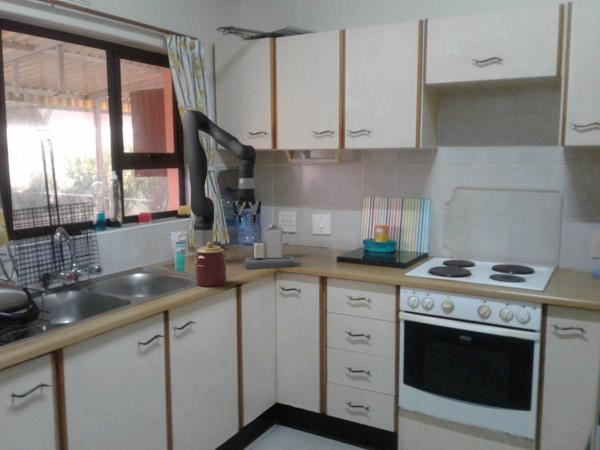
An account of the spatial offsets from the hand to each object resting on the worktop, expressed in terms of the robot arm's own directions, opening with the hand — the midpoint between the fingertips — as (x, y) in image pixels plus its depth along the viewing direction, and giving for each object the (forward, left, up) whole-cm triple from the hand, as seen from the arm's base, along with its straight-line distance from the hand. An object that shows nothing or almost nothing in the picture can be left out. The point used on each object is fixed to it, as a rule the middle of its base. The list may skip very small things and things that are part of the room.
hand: (247, 222), depth 250 cm
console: (+11, 0, -22) cm, 24 cm away
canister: (-18, -31, -22) cm, 42 cm away
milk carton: (+17, +21, -22) cm, 34 cm away
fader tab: (+6, 0, -19) cm, 20 cm away
